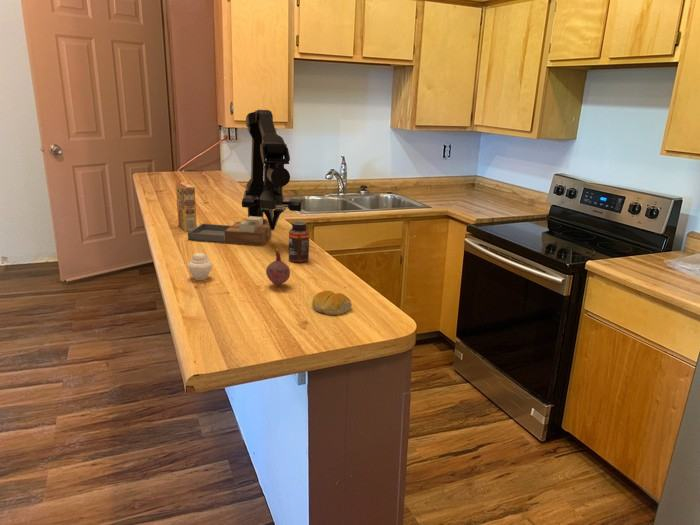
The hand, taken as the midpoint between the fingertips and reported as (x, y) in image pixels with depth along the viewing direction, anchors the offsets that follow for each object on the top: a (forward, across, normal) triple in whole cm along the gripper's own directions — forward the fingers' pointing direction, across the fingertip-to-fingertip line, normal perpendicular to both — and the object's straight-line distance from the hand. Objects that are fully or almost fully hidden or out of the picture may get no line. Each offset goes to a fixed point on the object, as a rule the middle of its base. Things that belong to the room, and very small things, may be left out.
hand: (272, 229), depth 172 cm
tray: (+5, -21, +4) cm, 22 cm away
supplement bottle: (+5, +11, -14) cm, 19 cm away
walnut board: (+5, -9, +4) cm, 11 cm away
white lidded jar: (+5, -11, -36) cm, 38 cm away
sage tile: (+1, -8, 0) cm, 8 cm away
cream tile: (+1, -8, +7) cm, 11 cm away
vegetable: (+5, +10, -38) cm, 39 cm away
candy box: (+5, -33, +12) cm, 35 cm away
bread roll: (+5, +25, -49) cm, 55 cm away
